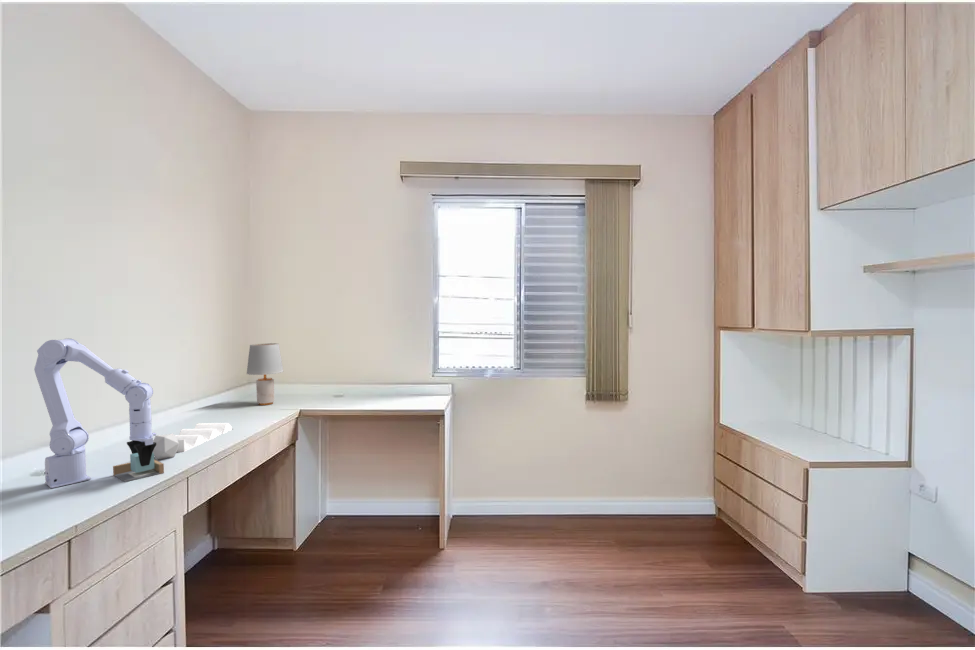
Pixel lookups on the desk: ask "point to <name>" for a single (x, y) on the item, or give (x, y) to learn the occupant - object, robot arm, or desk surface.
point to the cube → (137, 466)
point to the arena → (128, 475)
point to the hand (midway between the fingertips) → (142, 463)
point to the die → (165, 446)
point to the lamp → (264, 369)
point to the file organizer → (200, 434)
